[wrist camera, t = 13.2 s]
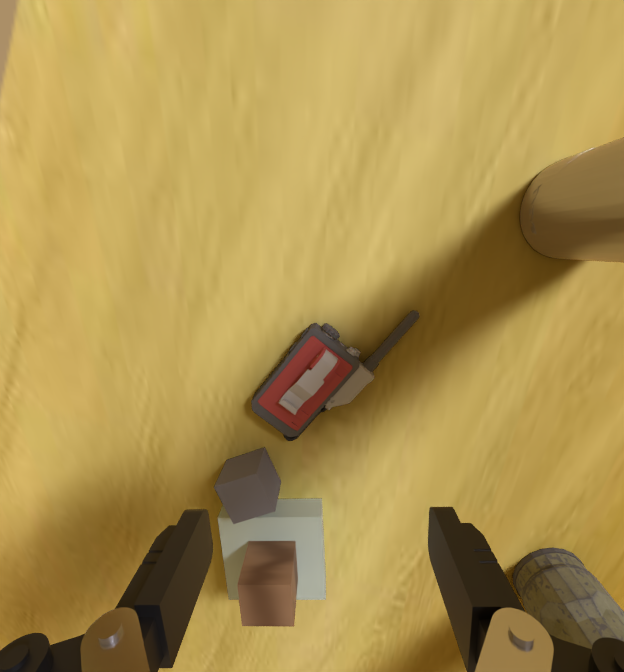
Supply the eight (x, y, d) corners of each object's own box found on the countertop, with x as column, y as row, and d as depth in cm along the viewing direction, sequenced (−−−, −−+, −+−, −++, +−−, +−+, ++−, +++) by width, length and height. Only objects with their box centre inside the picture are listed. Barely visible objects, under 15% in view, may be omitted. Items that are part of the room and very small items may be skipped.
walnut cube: (295, 540, 41) (290, 584, 36) (298, 578, 42) (293, 626, 37) (248, 541, 41) (237, 584, 36) (252, 578, 43) (242, 626, 37)
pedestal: (321, 498, 43) (321, 516, 40) (325, 577, 46) (325, 599, 43) (224, 499, 44) (217, 518, 41) (234, 577, 46) (228, 599, 44)
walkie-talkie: (305, 445, 42) (422, 315, 37) (302, 467, 37) (434, 324, 33) (245, 401, 41) (358, 262, 36) (236, 419, 36) (362, 265, 32)
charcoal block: (264, 446, 42) (256, 473, 37) (281, 481, 43) (275, 511, 38) (226, 459, 42) (213, 487, 37) (243, 493, 43) (233, 524, 38)
